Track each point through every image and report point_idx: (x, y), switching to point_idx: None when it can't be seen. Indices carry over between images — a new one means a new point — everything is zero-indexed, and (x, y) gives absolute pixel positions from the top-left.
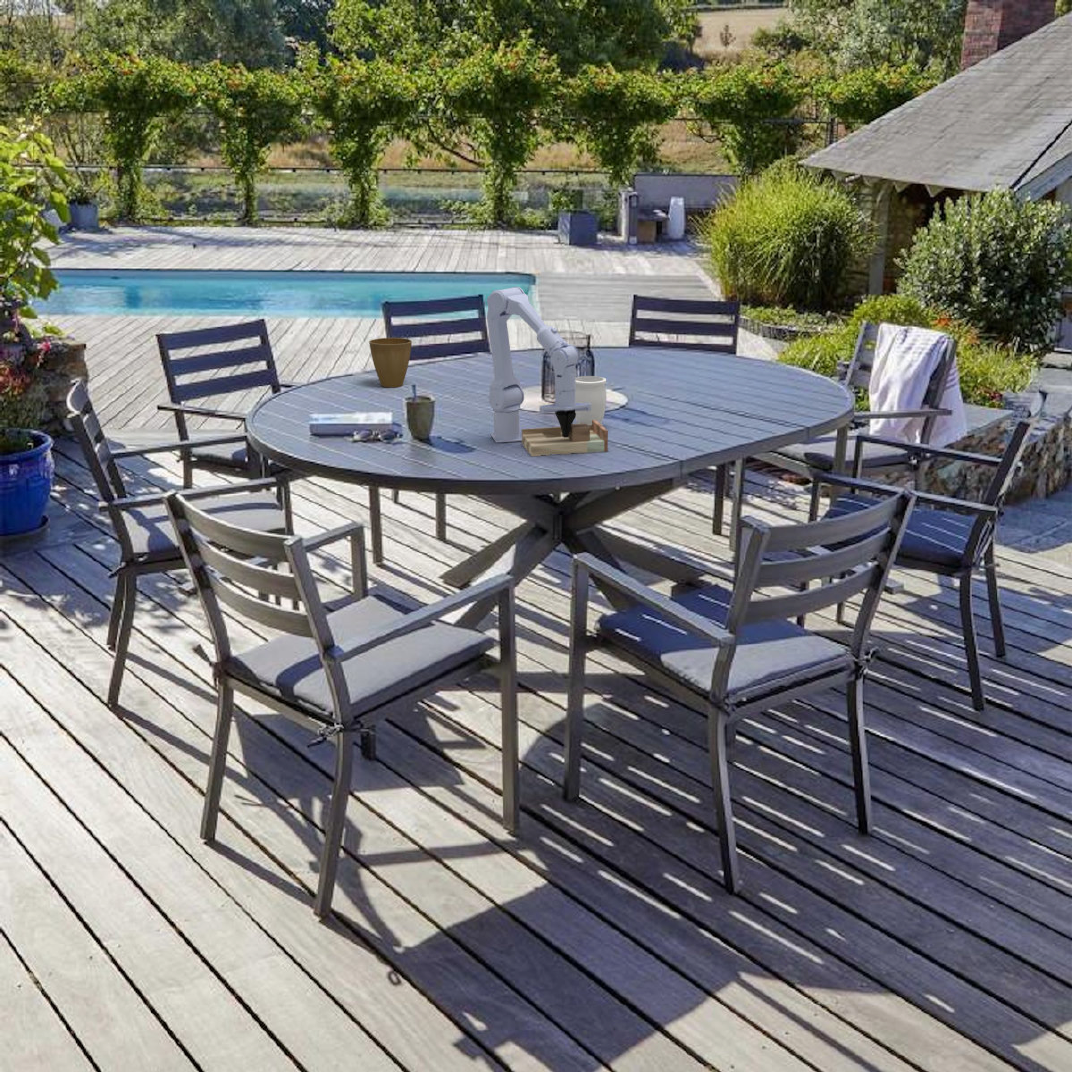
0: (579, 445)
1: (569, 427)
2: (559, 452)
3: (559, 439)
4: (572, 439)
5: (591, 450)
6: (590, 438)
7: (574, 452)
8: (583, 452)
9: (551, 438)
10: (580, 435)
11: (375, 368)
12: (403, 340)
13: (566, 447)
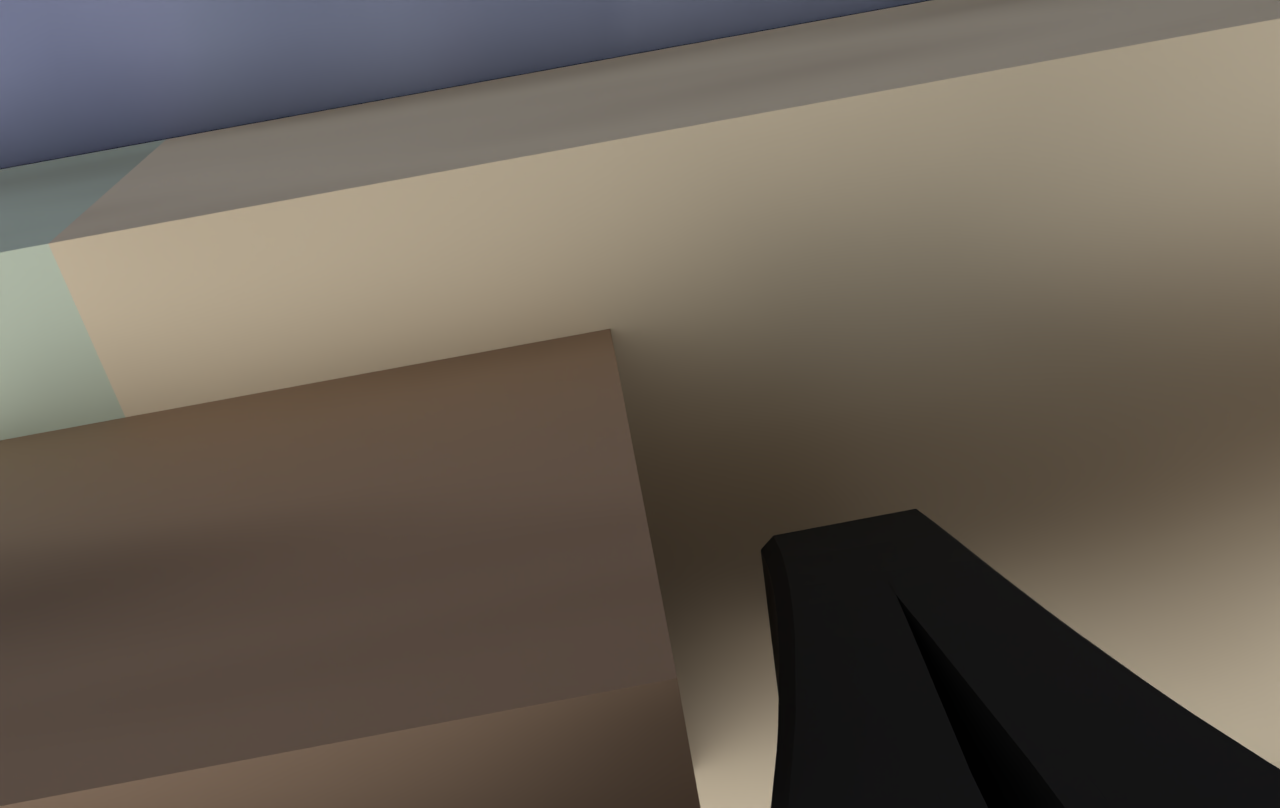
0: (368, 164)
1: (841, 794)
2: (1005, 3)
3: None
4: (622, 397)
5: (12, 181)
6: None
7: (544, 77)
8: (274, 126)
9: None
10: (283, 499)
11: None
12: None
13: (829, 61)
